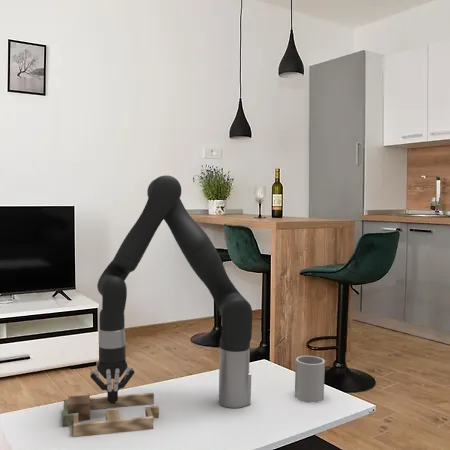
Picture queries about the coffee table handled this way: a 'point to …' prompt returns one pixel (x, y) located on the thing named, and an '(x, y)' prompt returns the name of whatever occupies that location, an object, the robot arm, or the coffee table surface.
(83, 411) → the walnut block
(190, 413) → the coffee table surface
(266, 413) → the coffee table surface
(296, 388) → the cup
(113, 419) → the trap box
